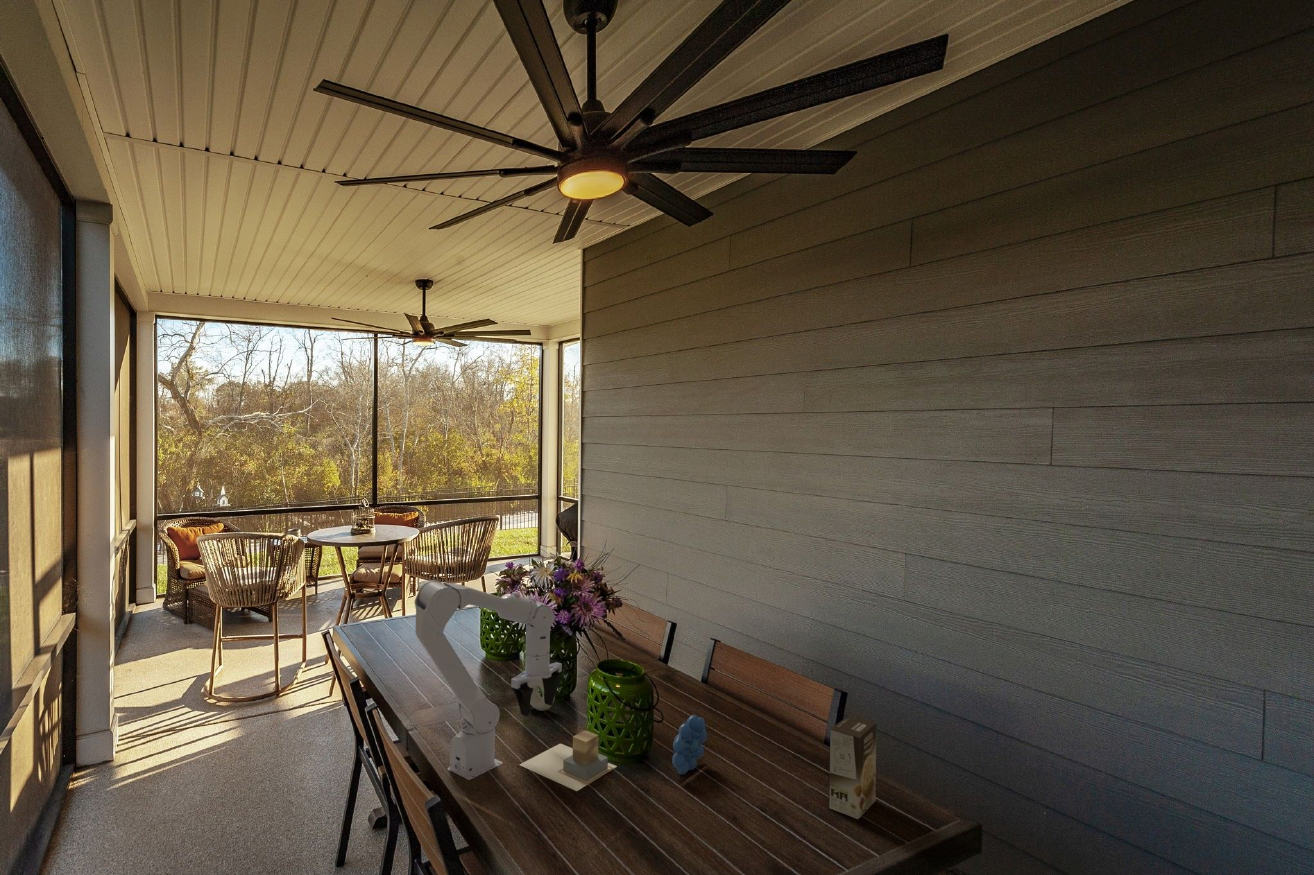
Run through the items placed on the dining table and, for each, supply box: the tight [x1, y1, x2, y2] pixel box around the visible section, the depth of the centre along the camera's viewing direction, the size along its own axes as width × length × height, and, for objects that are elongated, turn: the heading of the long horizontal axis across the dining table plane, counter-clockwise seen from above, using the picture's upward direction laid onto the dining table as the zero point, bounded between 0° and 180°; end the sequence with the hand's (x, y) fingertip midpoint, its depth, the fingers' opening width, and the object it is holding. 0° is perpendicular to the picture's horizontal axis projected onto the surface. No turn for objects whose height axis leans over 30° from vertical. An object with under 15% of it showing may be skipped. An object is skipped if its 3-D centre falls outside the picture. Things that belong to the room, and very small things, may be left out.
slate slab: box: [563, 753, 609, 781], centre depth 142 cm, size 7×7×2 cm
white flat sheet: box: [519, 743, 618, 792], centre depth 143 cm, size 13×18×1 cm
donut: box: [527, 678, 556, 712], centre depth 175 cm, size 10×3×10 cm, turn 55°
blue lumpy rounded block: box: [671, 714, 708, 776], centre depth 144 cm, size 12×7×12 cm, turn 141°
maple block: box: [572, 730, 599, 765], centre depth 142 cm, size 4×4×5 cm
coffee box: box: [829, 715, 877, 820], centre depth 130 cm, size 9×6×16 cm
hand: (537, 709), depth 153 cm, fingers open, 7 cm apart
